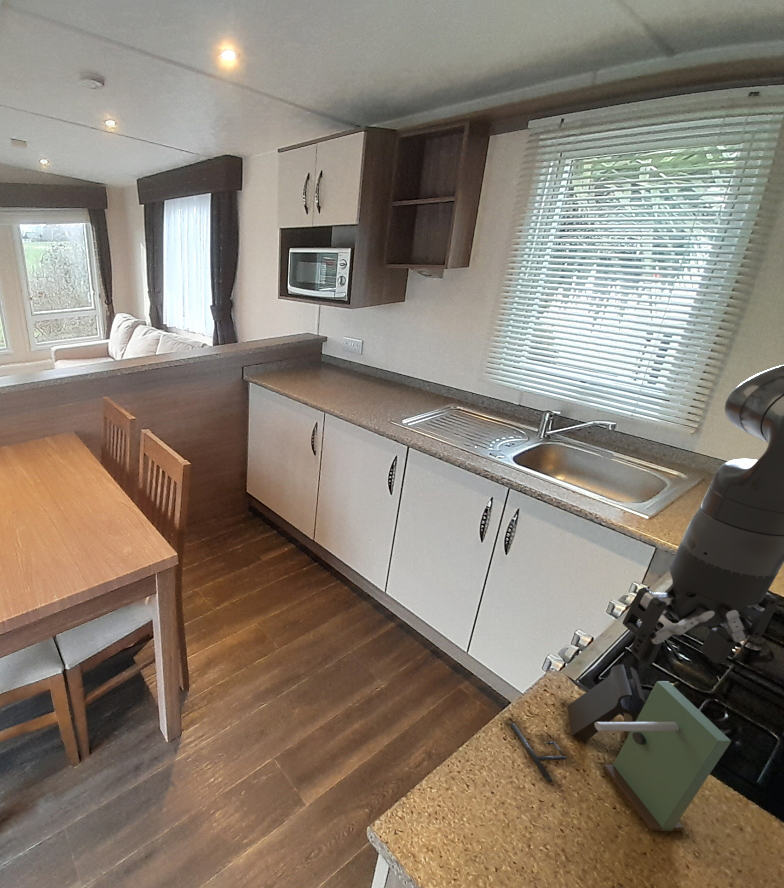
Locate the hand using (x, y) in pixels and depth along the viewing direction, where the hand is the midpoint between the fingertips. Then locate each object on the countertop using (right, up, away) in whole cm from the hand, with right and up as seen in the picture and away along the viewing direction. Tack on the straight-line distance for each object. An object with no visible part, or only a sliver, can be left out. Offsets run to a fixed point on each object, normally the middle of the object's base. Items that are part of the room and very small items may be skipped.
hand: (676, 658), depth 59 cm
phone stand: (+3, -18, +14) cm, 23 cm away
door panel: (-4, -22, +6) cm, 23 cm away
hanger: (-10, -19, +12) cm, 24 cm away
